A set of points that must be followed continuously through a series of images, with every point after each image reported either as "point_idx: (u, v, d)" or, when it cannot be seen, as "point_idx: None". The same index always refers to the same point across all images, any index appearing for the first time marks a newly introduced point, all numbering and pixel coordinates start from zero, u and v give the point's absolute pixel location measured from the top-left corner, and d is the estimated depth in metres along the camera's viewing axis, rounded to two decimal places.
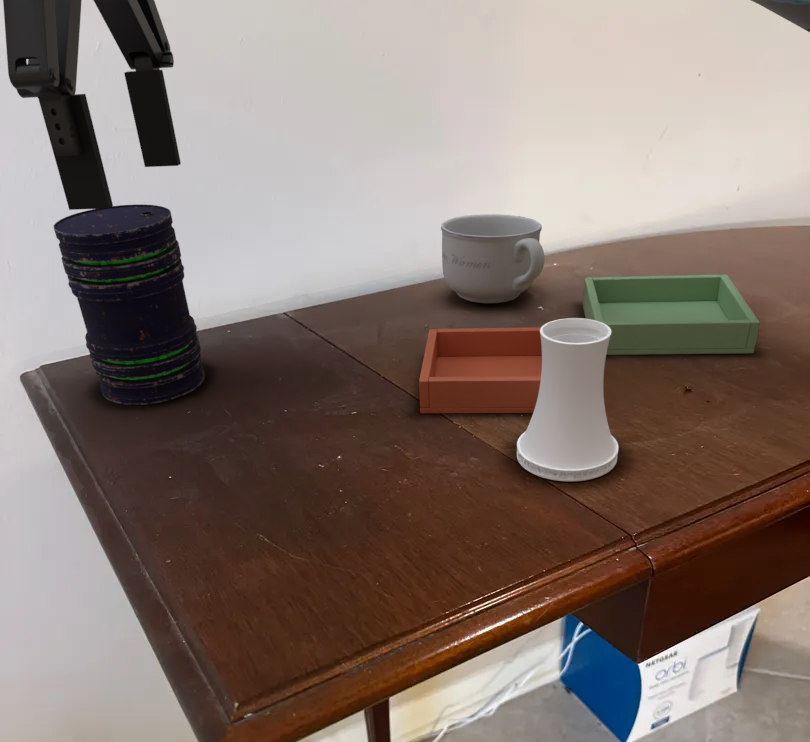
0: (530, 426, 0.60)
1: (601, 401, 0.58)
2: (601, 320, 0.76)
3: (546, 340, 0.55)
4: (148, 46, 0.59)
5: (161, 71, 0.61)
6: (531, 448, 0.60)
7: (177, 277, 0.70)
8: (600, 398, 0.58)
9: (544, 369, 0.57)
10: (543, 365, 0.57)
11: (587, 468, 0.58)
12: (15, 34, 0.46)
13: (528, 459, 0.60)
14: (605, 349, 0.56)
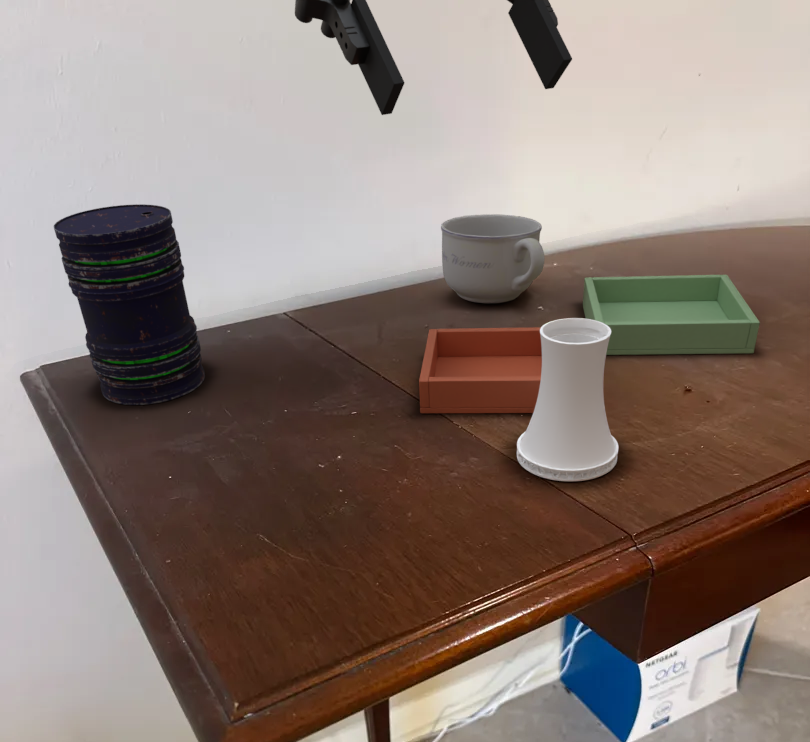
0: (530, 426, 0.60)
1: (601, 401, 0.58)
2: (601, 320, 0.76)
3: (546, 340, 0.55)
4: None
5: None
6: (531, 448, 0.60)
7: (177, 277, 0.70)
8: (600, 398, 0.58)
9: (544, 369, 0.57)
10: (543, 365, 0.57)
11: (587, 468, 0.58)
12: None
13: (528, 459, 0.60)
14: (605, 349, 0.56)
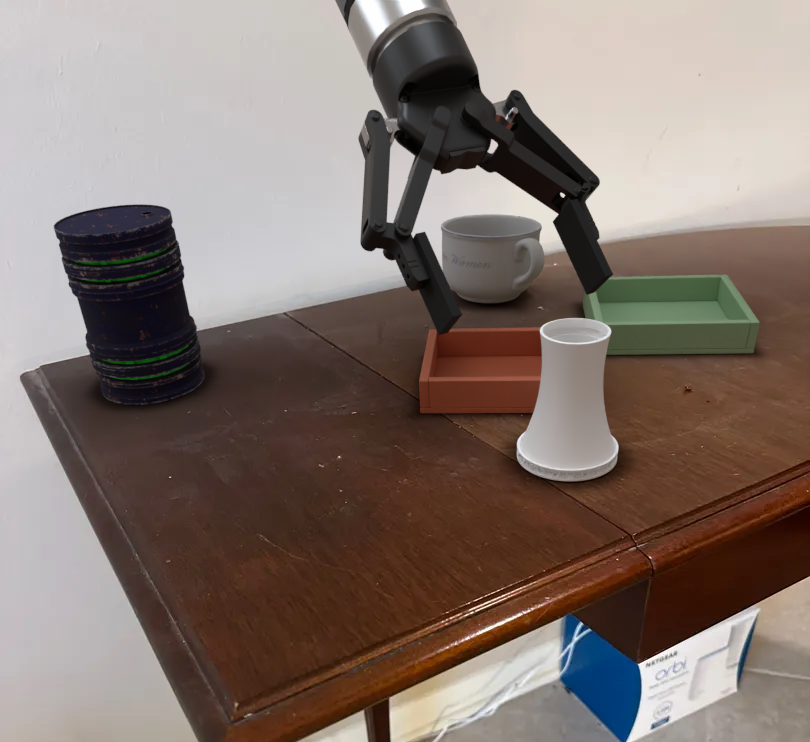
0: (530, 426, 0.60)
1: (601, 401, 0.58)
2: (601, 320, 0.76)
3: (546, 340, 0.55)
4: (556, 185, 0.62)
5: (575, 200, 0.62)
6: (531, 448, 0.60)
7: (177, 277, 0.70)
8: (600, 398, 0.58)
9: (544, 369, 0.57)
10: (543, 365, 0.57)
11: (587, 468, 0.58)
12: (364, 212, 0.58)
13: (528, 459, 0.60)
14: (605, 349, 0.56)
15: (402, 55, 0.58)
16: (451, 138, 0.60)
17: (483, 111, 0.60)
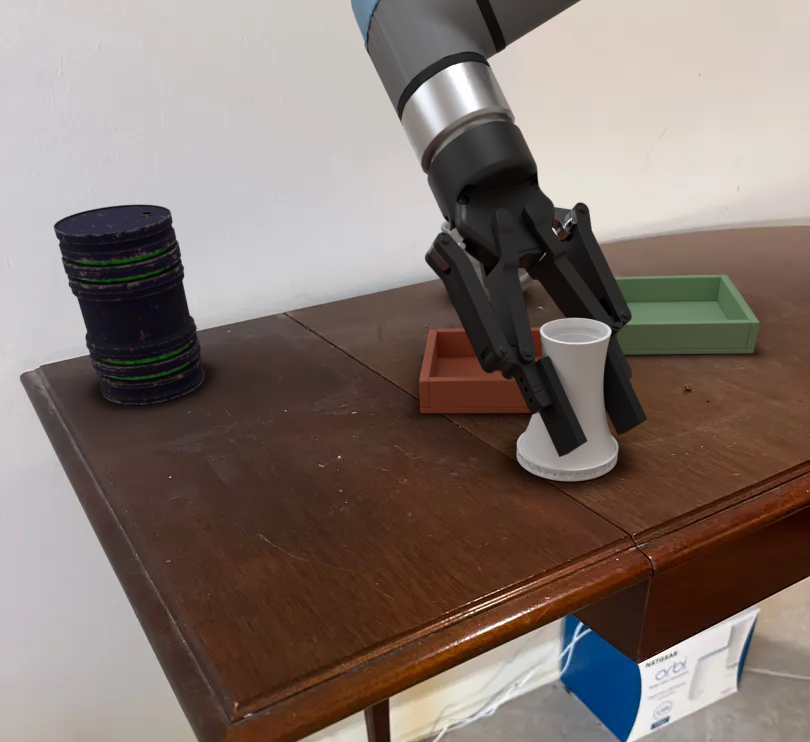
0: (530, 426, 0.60)
1: (601, 401, 0.58)
2: None
3: (546, 340, 0.55)
4: (589, 313, 0.58)
5: None
6: (531, 448, 0.60)
7: (177, 277, 0.70)
8: (600, 398, 0.58)
9: None
10: None
11: (587, 468, 0.59)
12: (473, 338, 0.57)
13: (528, 459, 0.60)
14: (605, 349, 0.56)
15: (461, 156, 0.56)
16: None
17: (543, 216, 0.58)
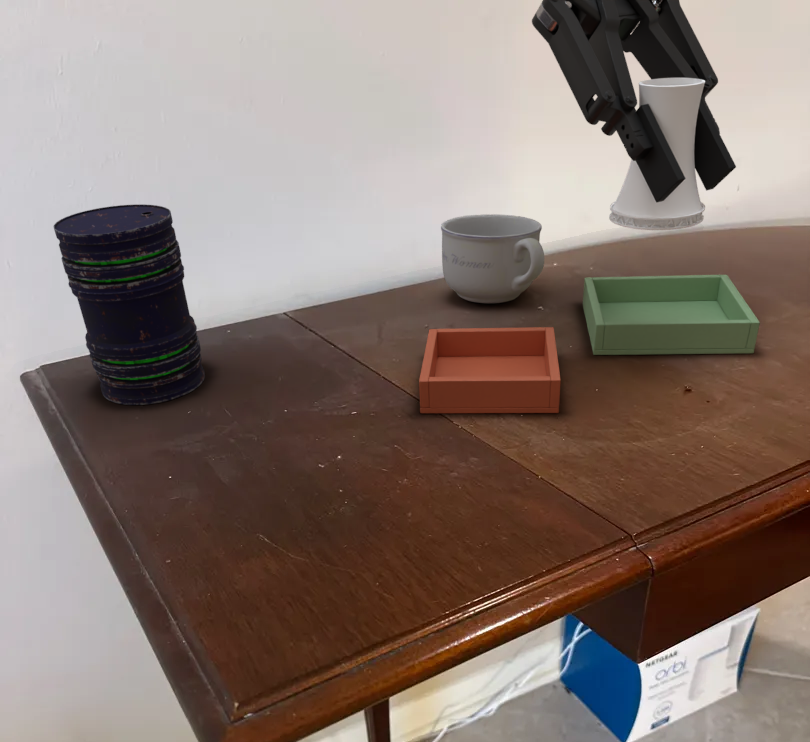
0: (624, 185, 0.66)
1: (693, 153, 0.63)
2: (601, 320, 0.76)
3: (646, 88, 0.61)
4: (681, 74, 0.64)
5: None
6: (626, 204, 0.65)
7: (177, 277, 0.70)
8: (692, 150, 0.63)
9: None
10: None
11: (680, 216, 0.64)
12: (578, 91, 0.62)
13: (623, 214, 0.65)
14: (700, 96, 0.61)
15: None
16: None
17: None
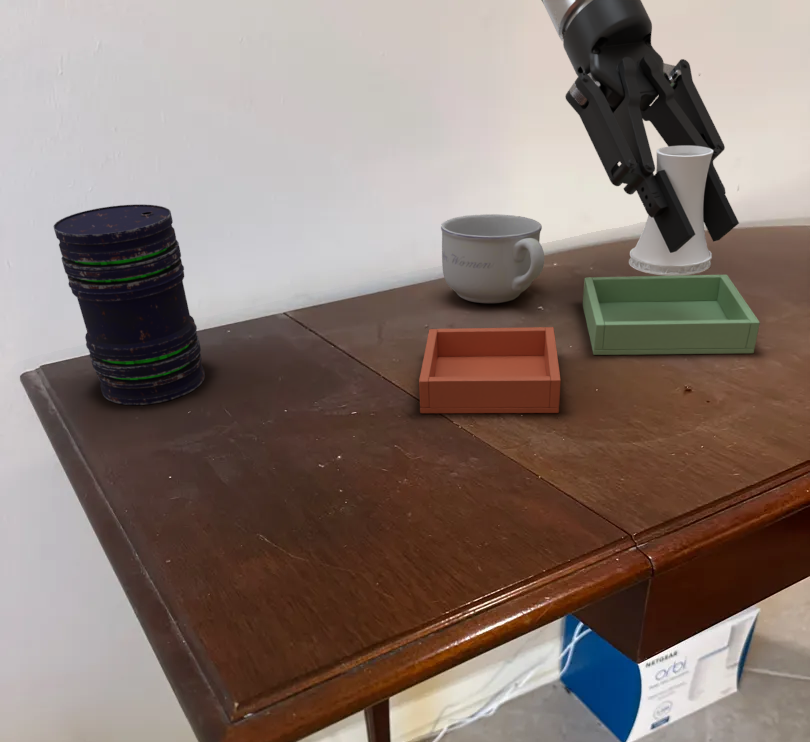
0: (642, 236, 0.76)
1: (702, 210, 0.74)
2: (601, 320, 0.76)
3: (663, 156, 0.72)
4: (692, 142, 0.74)
5: None
6: (644, 252, 0.76)
7: (177, 277, 0.70)
8: (701, 207, 0.74)
9: None
10: None
11: (690, 264, 0.75)
12: (605, 157, 0.73)
13: (641, 261, 0.76)
14: (708, 164, 0.72)
15: (597, 15, 0.72)
16: None
17: (657, 65, 0.74)
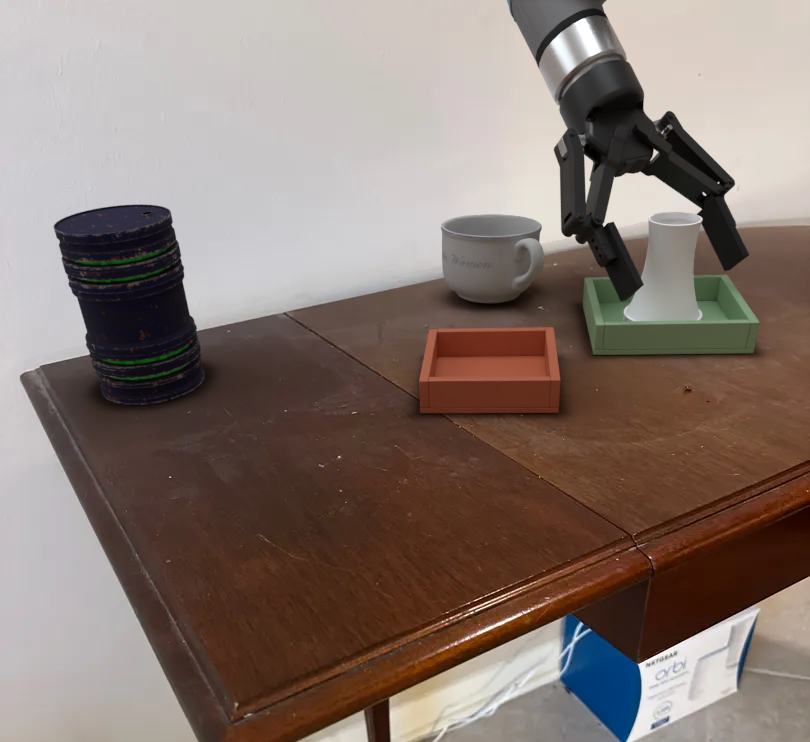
0: (636, 296, 0.80)
1: (692, 274, 0.77)
2: (601, 320, 0.76)
3: (654, 224, 0.75)
4: (703, 185, 0.79)
5: (718, 197, 0.79)
6: (637, 312, 0.79)
7: (177, 277, 0.70)
8: (692, 271, 0.77)
9: (650, 249, 0.77)
10: (650, 246, 0.77)
11: None
12: (563, 207, 0.75)
13: None
14: (698, 231, 0.75)
15: (591, 85, 0.75)
16: (626, 149, 0.77)
17: (649, 128, 0.77)
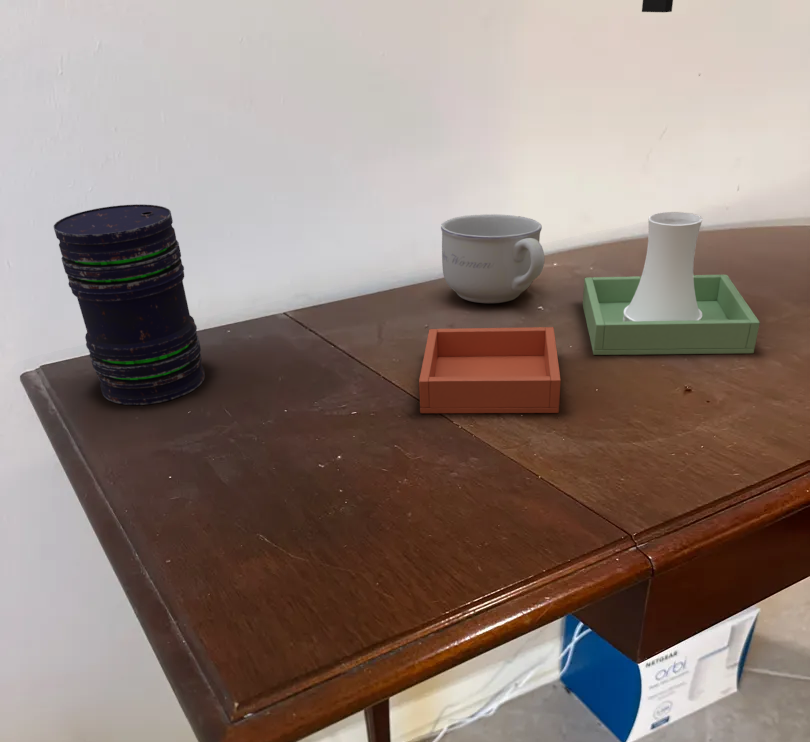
0: (636, 296, 0.80)
1: (692, 274, 0.77)
2: (601, 320, 0.76)
3: (654, 224, 0.75)
4: None
5: None
6: (637, 312, 0.79)
7: (177, 277, 0.70)
8: (691, 271, 0.77)
9: (650, 249, 0.77)
10: (649, 246, 0.77)
11: None
12: None
13: None
14: (698, 231, 0.75)
15: None
16: None
17: None
